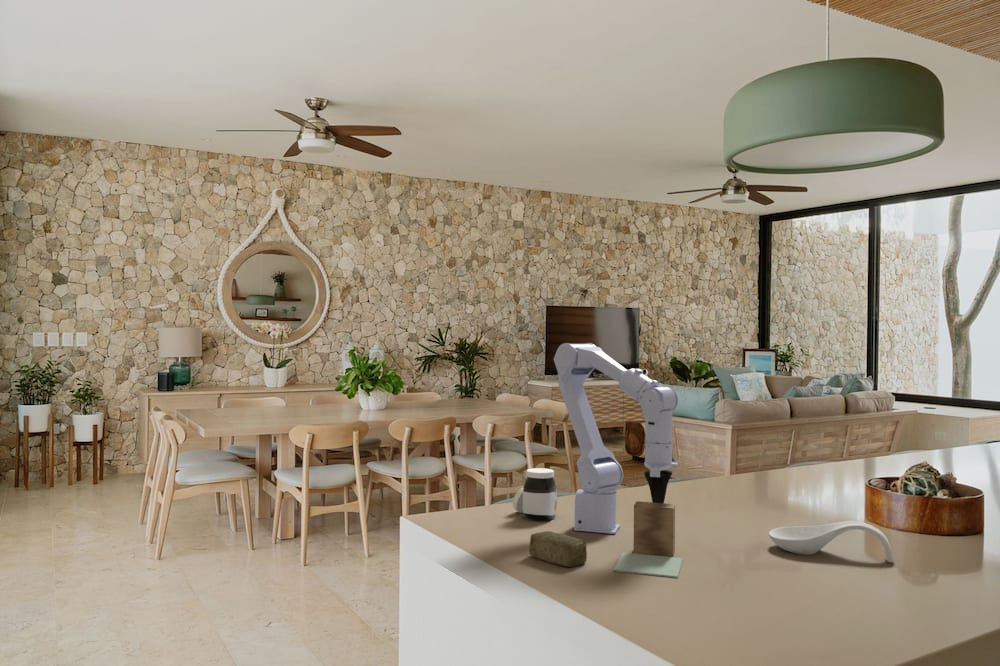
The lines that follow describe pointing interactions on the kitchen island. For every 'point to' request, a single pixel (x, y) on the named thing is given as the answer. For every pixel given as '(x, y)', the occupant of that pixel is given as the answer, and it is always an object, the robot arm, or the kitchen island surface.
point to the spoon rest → (822, 536)
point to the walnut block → (654, 529)
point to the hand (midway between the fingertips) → (658, 504)
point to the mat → (649, 565)
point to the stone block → (558, 549)
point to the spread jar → (537, 495)
